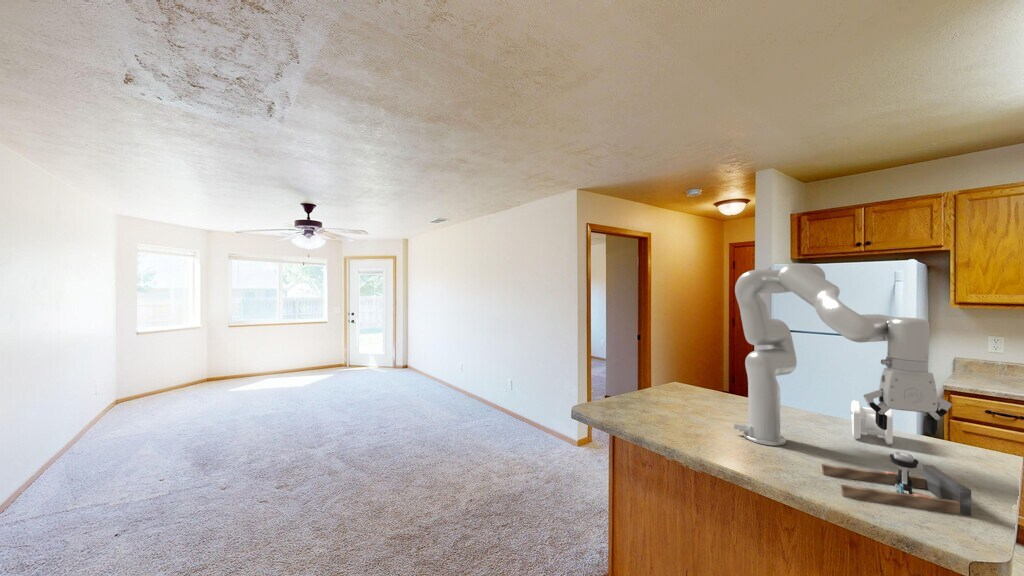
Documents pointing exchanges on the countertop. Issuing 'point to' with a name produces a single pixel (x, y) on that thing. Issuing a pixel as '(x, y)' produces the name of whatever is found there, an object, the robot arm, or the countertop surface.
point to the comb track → (934, 480)
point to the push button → (903, 470)
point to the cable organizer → (870, 423)
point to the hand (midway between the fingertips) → (905, 430)
